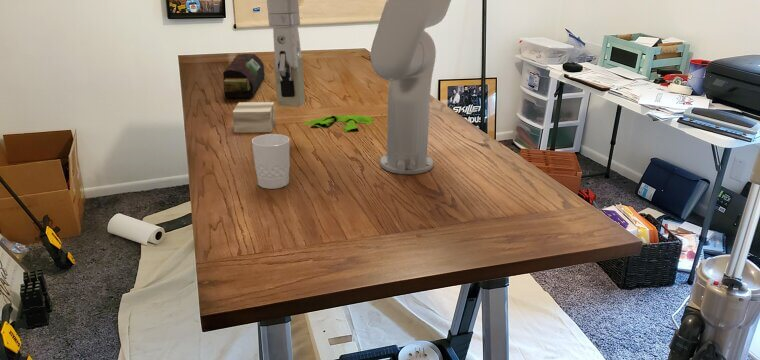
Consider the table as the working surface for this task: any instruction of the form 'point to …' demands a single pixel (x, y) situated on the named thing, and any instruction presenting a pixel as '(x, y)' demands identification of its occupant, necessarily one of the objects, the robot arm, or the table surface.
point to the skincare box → (298, 86)
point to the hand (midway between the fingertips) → (290, 93)
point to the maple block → (254, 117)
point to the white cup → (272, 160)
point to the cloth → (348, 126)
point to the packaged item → (243, 76)
